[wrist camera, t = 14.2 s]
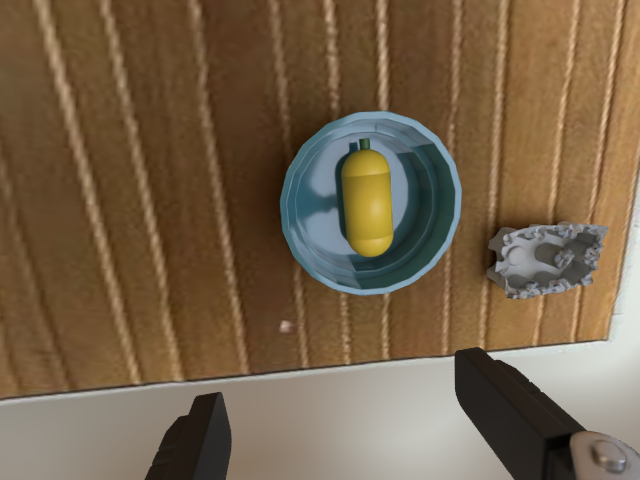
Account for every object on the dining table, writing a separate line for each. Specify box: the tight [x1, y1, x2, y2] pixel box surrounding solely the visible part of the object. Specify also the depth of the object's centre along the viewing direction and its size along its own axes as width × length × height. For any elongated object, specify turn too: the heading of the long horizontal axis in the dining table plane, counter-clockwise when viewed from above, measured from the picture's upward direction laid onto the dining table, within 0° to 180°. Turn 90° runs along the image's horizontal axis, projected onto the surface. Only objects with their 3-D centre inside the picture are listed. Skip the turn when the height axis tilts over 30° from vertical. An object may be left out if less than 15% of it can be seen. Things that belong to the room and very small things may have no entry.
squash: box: [341, 138, 393, 257], centre depth 28 cm, size 11×4×4 cm, turn 6°
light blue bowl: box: [280, 111, 462, 296], centre depth 28 cm, size 15×15×6 cm
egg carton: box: [486, 221, 608, 299], centre depth 32 cm, size 11×8×4 cm
